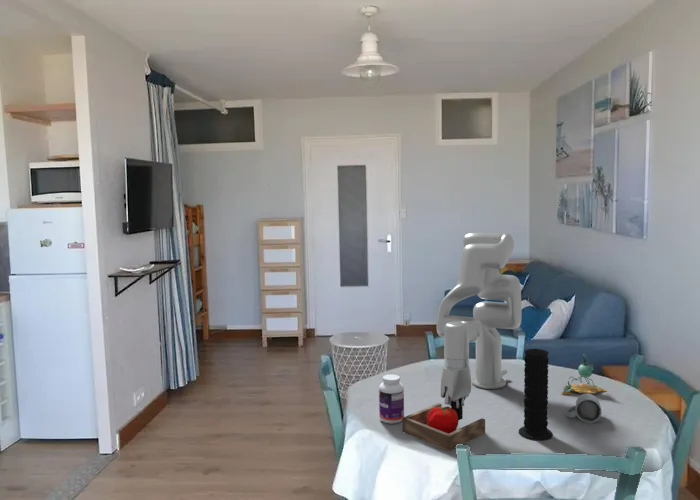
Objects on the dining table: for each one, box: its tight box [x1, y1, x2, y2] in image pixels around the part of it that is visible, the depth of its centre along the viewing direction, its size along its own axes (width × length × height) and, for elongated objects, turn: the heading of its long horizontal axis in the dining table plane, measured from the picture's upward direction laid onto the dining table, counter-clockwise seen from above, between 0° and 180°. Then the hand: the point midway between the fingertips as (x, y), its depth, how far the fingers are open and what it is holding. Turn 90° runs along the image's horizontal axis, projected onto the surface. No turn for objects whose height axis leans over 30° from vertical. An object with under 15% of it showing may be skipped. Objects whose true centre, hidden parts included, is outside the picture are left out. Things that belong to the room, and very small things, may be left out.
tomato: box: [426, 405, 460, 434], centre depth 176 cm, size 9×10×8 cm
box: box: [401, 402, 486, 452], centre depth 177 cm, size 17×18×4 cm
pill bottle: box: [378, 374, 405, 425], centre depth 187 cm, size 8×8×14 cm
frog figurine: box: [560, 353, 608, 396], centre depth 209 cm, size 10×18×15 cm, turn 93°
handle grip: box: [517, 348, 554, 442], centre depth 174 cm, size 10×26×10 cm
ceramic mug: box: [564, 393, 602, 424], centre depth 186 cm, size 11×8×8 cm
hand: (456, 418), depth 181 cm, fingers closed
